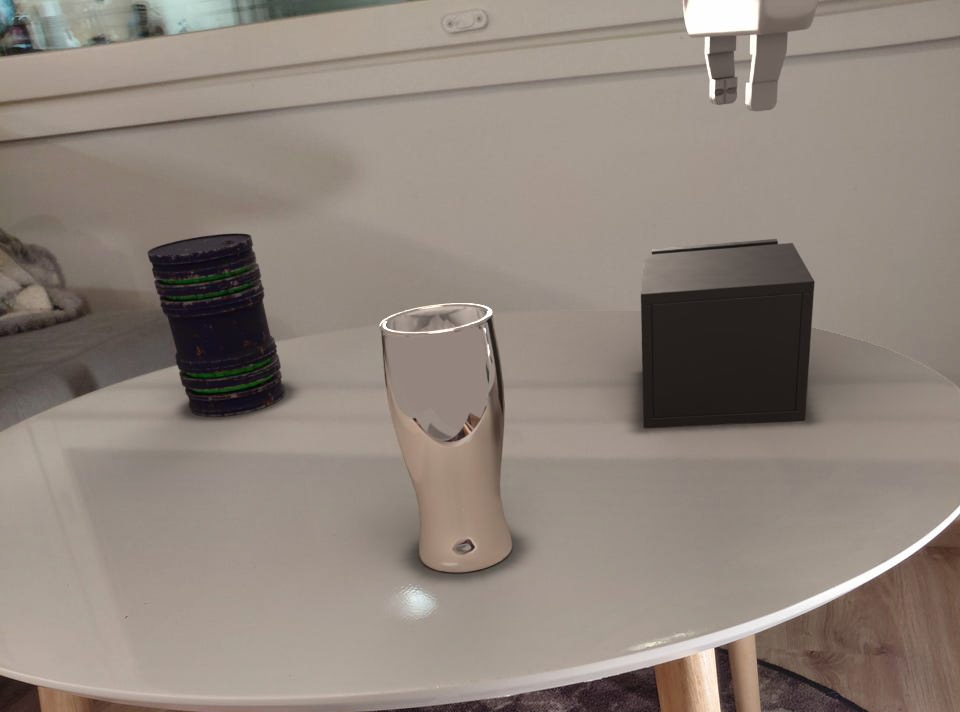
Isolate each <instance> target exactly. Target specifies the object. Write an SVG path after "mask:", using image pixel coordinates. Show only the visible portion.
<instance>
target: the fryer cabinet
mask: <svg viewBox="0 0 960 712" xmlns="http://www.w3.org/2000/svg"><path fill="white" fill-rule="evenodd" d="M803 260H804V259H802V257H801V255H800V253H799V252H798V249H797V248H796V247H795V244H794V243H793V242H787V243H778V244H774V245H761V246H749V247H737V248H725V249H713V250H701V251H688V252H676V253H664V254H652V253H651V254H644V255H643V263H642V275H641V286H640V319H641V321H640V325H641V327H640V328H641V369H642V370H641V371H642V373H641V375H642V414H643V415H642V417H643V423H642V424H643V429H653V428H654V429H655V428H674V427H694V426H695V427H696V426H713V425H715V426H717V425H736V424H756V423H757V424H758V423H777V422H779V423H780V422H799V421H806V411H807V410H806V409H807V397H808V384H809V382H808V381H809V371H810V370H809V369H810V353H811V340H812V324H813V313H814V312H813V311H814V297H815V293H814V292H815V283H816V282H815V280H814V278H813V276H812V275H811V273H810V271H809V269H808V267H807V265H806V263H805V262H804V261H803Z"/></svg>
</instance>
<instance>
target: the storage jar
mask: <svg viewBox="0 0 960 712" xmlns="http://www.w3.org/2000/svg"><path fill="white" fill-rule="evenodd" d="M253 247H254V242H253V238H252V235H251V234H249V233H237V232H236V233H220V234H219V233H218V234H210V235H203V236H197V237H191V238H186V239H180V240H175V241H172V242H167V243H163V244H161V245H158V246H155V247H152V248H150V249H149V250H148V251H147V252H146V253H147V256H148V261H149V263H151V265H152V268H151V271H152V276H153V278H154V282H153V283H154V286H155V290H156V294H157V295H158V296H159V302H160V305H159V307H161V309H162V313H163V314H164V315H165V316H166V317H167V321H168V324H169V328H170V332H171V335H172V339H173V342H174V346H175V350H176V352H175V354H174V355H175V356H174V357H175V361H176V362H175V364H176V366H177V369H178V370H179V372H178V374H179V378H180V381H181V385H182V386H183V388H184V393H185V394H186V396H187V397H188V401H189V402H188V407H189V410H190V412H191V413H193V414H194V415H197V416H201V417H211V418H212V417H215V418H216V417H229V416H237V415H242V414H247V413H251V412H254V411H259V410H261V409H264V408H266V407H269V406H271V405H274V404H275V403H278V402H279V401H280V400H282V399H283V398H284V397H285V395H286V389H285V385H284V384H283V382H282V378H283V375H282V371H281V368H282V366H281V361H280V356H279V354H278V349H277V348H278V346H277V344H276V341H275V338H274V337H273V336H272V335H271V332H270V327H269V322H268V317H267V313H266V309H265V305H264V298H265V291H264V290H265V287H264V286H263V281H262V279H261V278H262V274H261V270H260V264H259V263H257V257H256V256H257V255H256V252H255V251H254V250H253Z"/></svg>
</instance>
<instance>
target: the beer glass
mask: <svg viewBox="0 0 960 712" xmlns="http://www.w3.org/2000/svg"><path fill="white" fill-rule="evenodd" d="M379 329H380V338H381V339H380V340H381V350H382V362H383V363H382V364H383V375H384V376H383V377H384V383H385V390H386V399H387V403H388V408H389V414H390V418H391V422H392V425H393V426H392V427H393V429H394V432H395V437H396V439H397V443H398V446H399V449H400V451H401V454H402V458H403V460H404V463H405V466H406V469H407V471H408V474H409V477H410V480H411V483H412V488H413V490H414V493H415V498H416V501H417V507H418V515H419V537H418V539H419V542H418V553H419V558H420V560H421V562H422V563H423V564H424V565H425V566H427V567H428V568H430V569H432V570H435V571H438V572H444V573H452V574H453V573H456V574H458V573H469V572H470V573H471V572H476V571H480V570H484V569H487V568H490V567H492V566H495V565H497V564H498V563H501V562H502V561H503V560H504V559H506V557H508V556H509V554H510V553H511V551H512V549H513V548H512V547H513V541H512V536H511V533H510V529H509V526H508V523H507V520H506V517H505V513H504V508H503V502H502V495H501V494H502V493H501V490H502V489H501V475H502V461H503V450H504V449H503V448H504V435H505V411H506V410H505V408H506V405H505V404H506V403H505V402H506V401H505V389H504V388H505V387H504V377H503V369H502V361H501V355H500V350H499V344H498V339H497V333H496V327H495V322H494V312H493V310H492V308H490V307H489V306H486V305H482V304H477V303H463V302H462V303H458V302H457V303H442V304H433V305H426V306H420V307H415V308H411V309H407V310H404V311H401V312H397V313H395V314H392V315H390V316H388V317H387V318H384V319H383V320H382V321H381V322H380V324H379Z"/></svg>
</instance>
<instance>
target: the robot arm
mask: <svg viewBox="0 0 960 712" xmlns="http://www.w3.org/2000/svg"><path fill="white" fill-rule="evenodd" d="M818 1H819V0H682V11H683V17H684V18H683V19H684V24H685V28H686V32H687V34H688V36H689V38H692V39H693V38H697V39H698V38H704V58H705V63H706V69H707V74H708V78H709V102H710V103H711V104H713V105H718V106H722V105H723V106H724V105H729V104H734V103H735V102H736V101H737V98H738V91H737V90H738V78H739V77H738V76H736V71H735V70H736V69H735V68H736V67H735V51H737V37H738V36H750V39H749V40H750V41H749V54H750V55H752V56H751V62H750V63H751V66H750V73H749V79H748V80H749V81H748V82H746V83H745V108H746V109H747V110H749V111H752V112H764V111H771V110H773V109H774V108H775V107H776V106H777V103H778V102H777V101H778V87H779V86H778V85H779V84H778V83H779V79H780V77H781V73H782V69H783V66H784V62H785V59H786V55H787V51H788V37H789V36H788V34H789V33H791V32H797V31H805V30H808V29H809V28H810V27H811V26H812V25H813V22H814V19H815V15H816V12H817V8H818Z"/></svg>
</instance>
